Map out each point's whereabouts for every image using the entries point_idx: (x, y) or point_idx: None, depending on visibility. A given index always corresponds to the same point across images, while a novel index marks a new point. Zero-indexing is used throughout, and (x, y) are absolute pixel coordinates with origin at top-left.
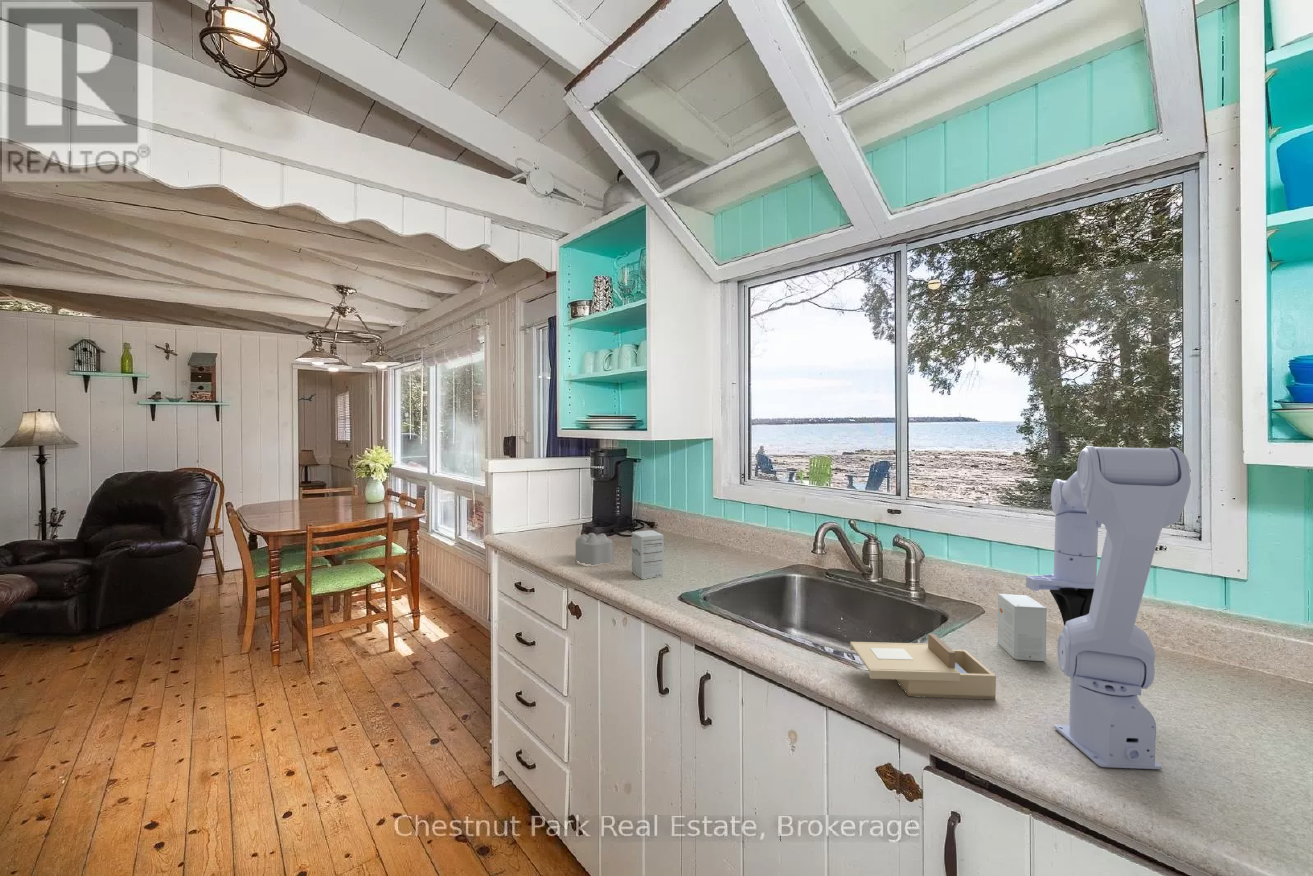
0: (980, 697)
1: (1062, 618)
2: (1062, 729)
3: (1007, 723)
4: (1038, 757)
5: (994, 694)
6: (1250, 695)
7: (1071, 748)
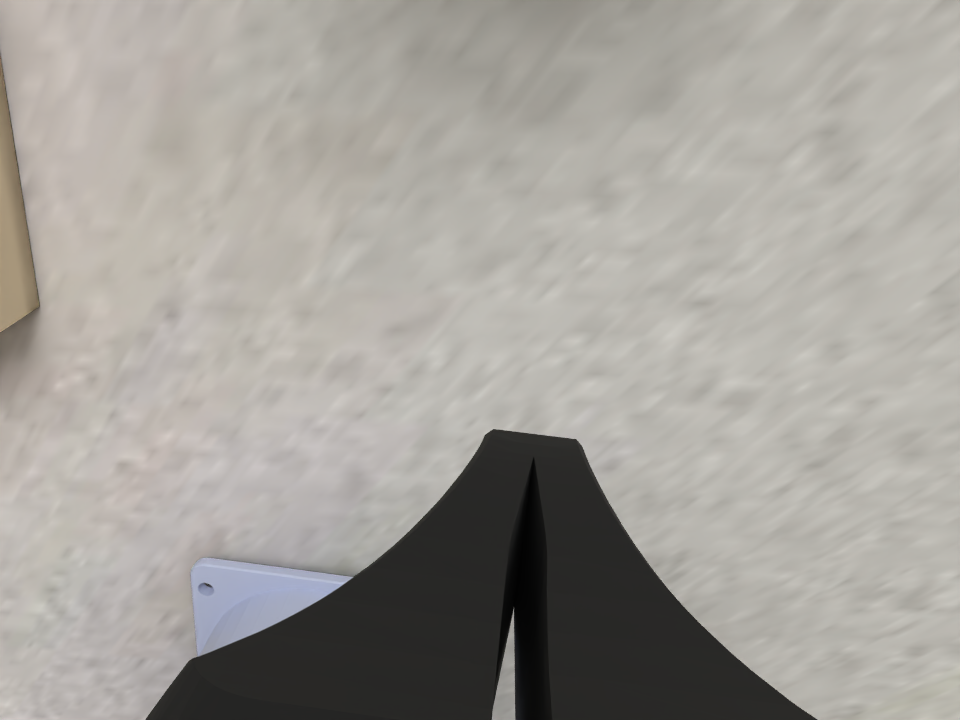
0: None
1: (452, 486)
2: (206, 599)
3: (12, 501)
4: (34, 688)
5: (17, 315)
6: None
7: (188, 661)
